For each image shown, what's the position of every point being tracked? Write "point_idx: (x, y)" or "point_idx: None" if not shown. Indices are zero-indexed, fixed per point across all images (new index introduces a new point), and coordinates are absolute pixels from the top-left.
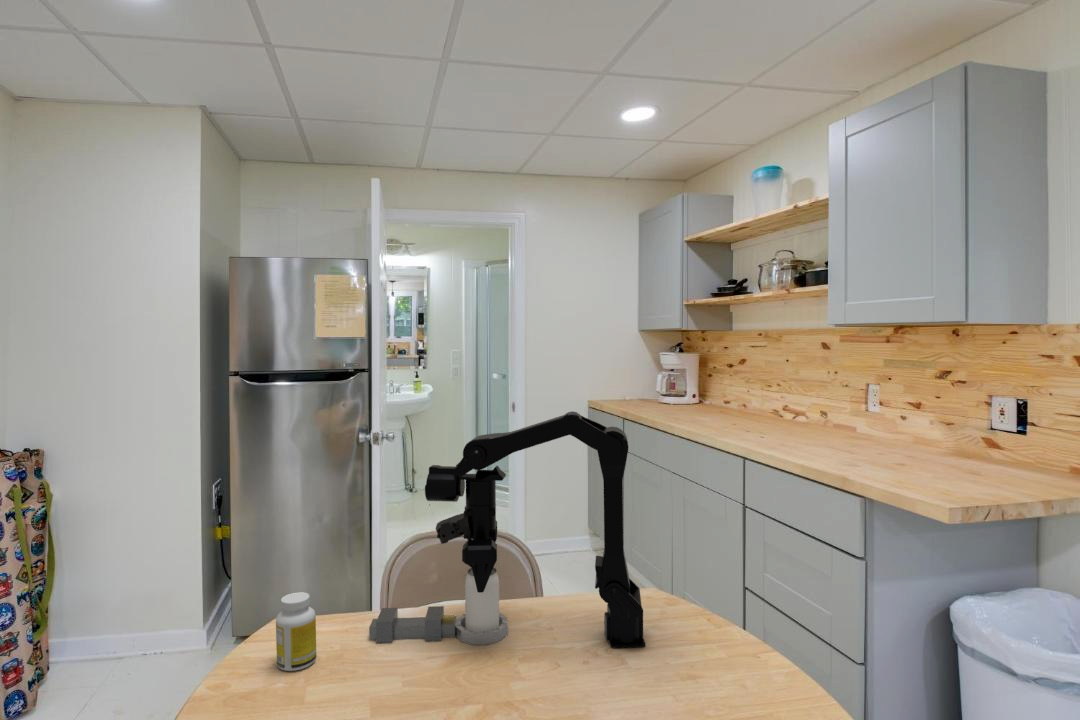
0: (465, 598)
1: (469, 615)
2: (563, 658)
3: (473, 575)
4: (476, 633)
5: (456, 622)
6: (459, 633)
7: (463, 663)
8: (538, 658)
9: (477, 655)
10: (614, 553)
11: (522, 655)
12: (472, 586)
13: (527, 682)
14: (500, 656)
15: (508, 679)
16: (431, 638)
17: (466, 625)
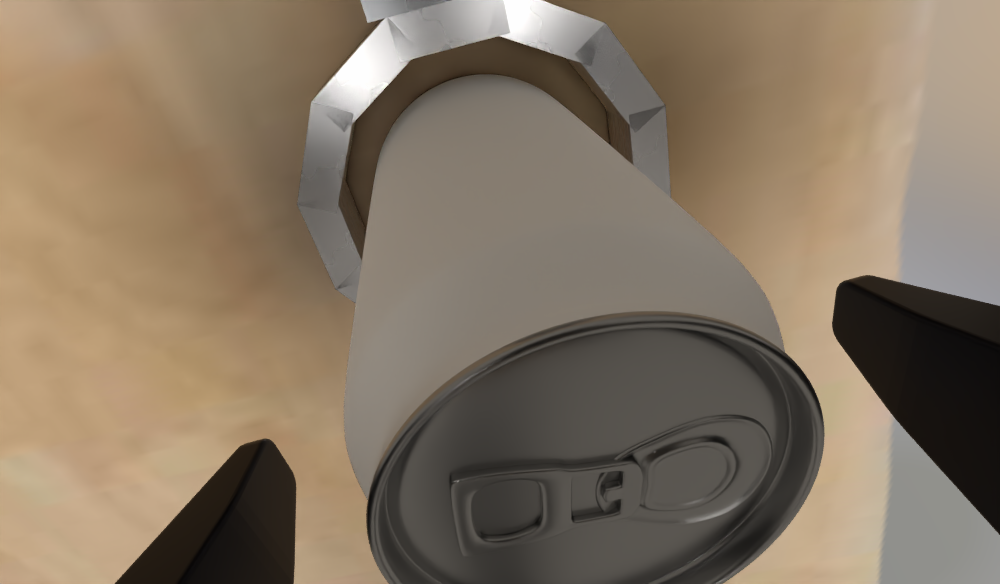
0: (453, 154)
1: (382, 175)
2: (326, 548)
3: (375, 481)
4: (317, 219)
5: (450, 7)
6: (336, 72)
7: (68, 187)
8: None
9: (200, 236)
10: None
11: (292, 427)
12: (353, 362)
13: (76, 496)
14: (242, 347)
15: (52, 432)
16: None
17: (415, 111)
